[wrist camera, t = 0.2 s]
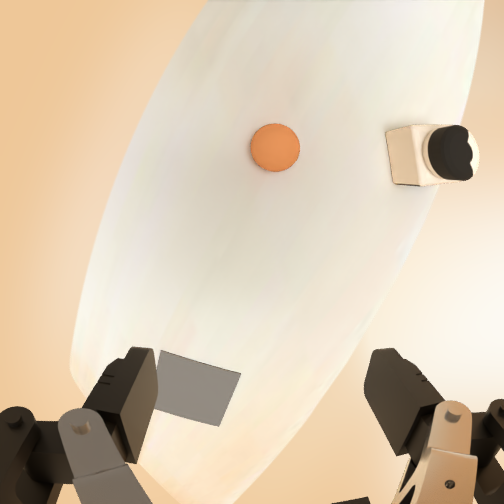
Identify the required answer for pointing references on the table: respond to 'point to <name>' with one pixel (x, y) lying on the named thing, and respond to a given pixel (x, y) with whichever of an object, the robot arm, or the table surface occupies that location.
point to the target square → (193, 389)
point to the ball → (275, 147)
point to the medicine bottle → (432, 154)
